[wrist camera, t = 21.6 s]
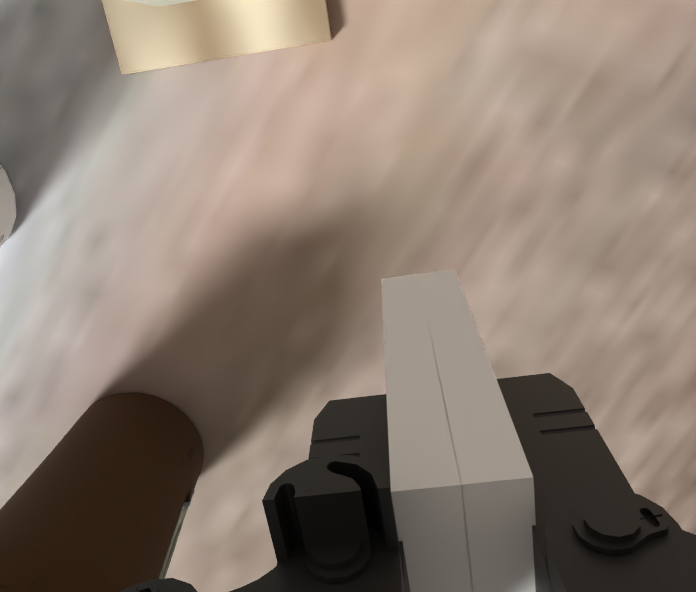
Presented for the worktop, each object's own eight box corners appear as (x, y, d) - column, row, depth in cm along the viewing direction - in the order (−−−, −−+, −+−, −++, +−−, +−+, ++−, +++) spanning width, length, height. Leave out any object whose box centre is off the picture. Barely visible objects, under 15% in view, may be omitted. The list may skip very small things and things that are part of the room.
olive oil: (41, 449, 47) (-285, 851, 23) (121, 355, 43) (-163, 712, 20) (157, 527, 49) (-33, 962, 26) (242, 444, 46) (111, 853, 23)
